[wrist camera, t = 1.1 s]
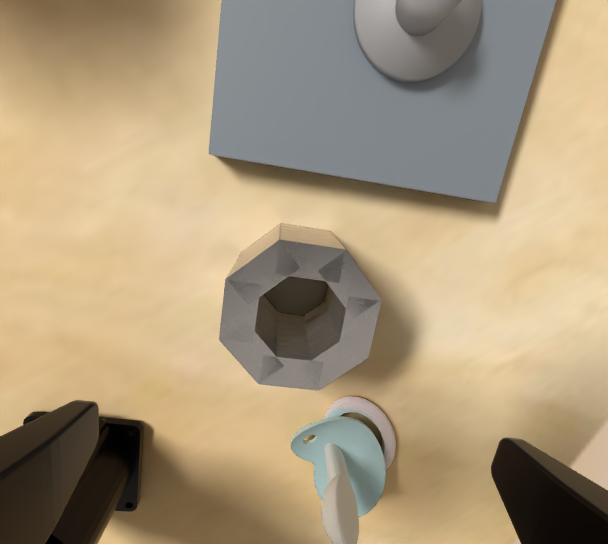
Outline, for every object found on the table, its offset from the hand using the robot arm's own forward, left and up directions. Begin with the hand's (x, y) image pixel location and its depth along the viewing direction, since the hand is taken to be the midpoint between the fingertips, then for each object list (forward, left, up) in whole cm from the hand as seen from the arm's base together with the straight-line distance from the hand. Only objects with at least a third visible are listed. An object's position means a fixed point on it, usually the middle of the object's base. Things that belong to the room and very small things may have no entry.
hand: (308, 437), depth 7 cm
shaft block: (+12, -2, -12) cm, 17 cm away
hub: (0, 0, -12) cm, 12 cm away
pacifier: (-10, -5, -12) cm, 16 cm away
